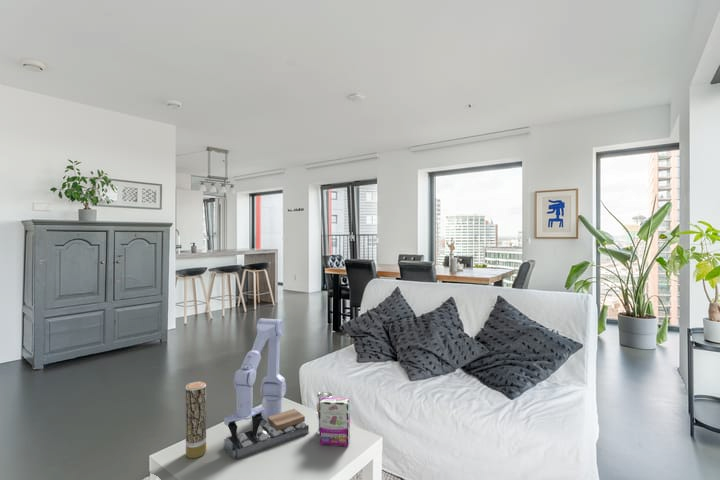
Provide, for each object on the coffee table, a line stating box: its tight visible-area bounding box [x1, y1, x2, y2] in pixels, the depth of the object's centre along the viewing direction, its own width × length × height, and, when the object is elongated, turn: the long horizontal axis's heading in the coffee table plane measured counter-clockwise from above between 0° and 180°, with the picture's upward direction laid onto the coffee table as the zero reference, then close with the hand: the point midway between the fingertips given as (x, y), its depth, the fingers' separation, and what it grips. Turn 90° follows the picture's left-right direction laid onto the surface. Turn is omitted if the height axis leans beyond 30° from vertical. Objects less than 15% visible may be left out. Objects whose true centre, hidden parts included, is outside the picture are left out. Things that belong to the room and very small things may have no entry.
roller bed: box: [223, 421, 310, 460], centre depth 145 cm, size 11×30×4 cm, turn 128°
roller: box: [236, 432, 254, 449], centre depth 139 cm, size 8×4×4 cm, turn 37°
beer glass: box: [315, 391, 334, 436], centre depth 150 cm, size 7×7×15 cm
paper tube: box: [185, 381, 207, 459], centre depth 135 cm, size 7×7×25 cm
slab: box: [268, 408, 306, 431], centre depth 150 cm, size 9×12×2 cm
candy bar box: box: [319, 397, 351, 447], centre depth 143 cm, size 11×5×16 cm, turn 83°
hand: (244, 438), depth 139 cm, fingers open, 7 cm apart
